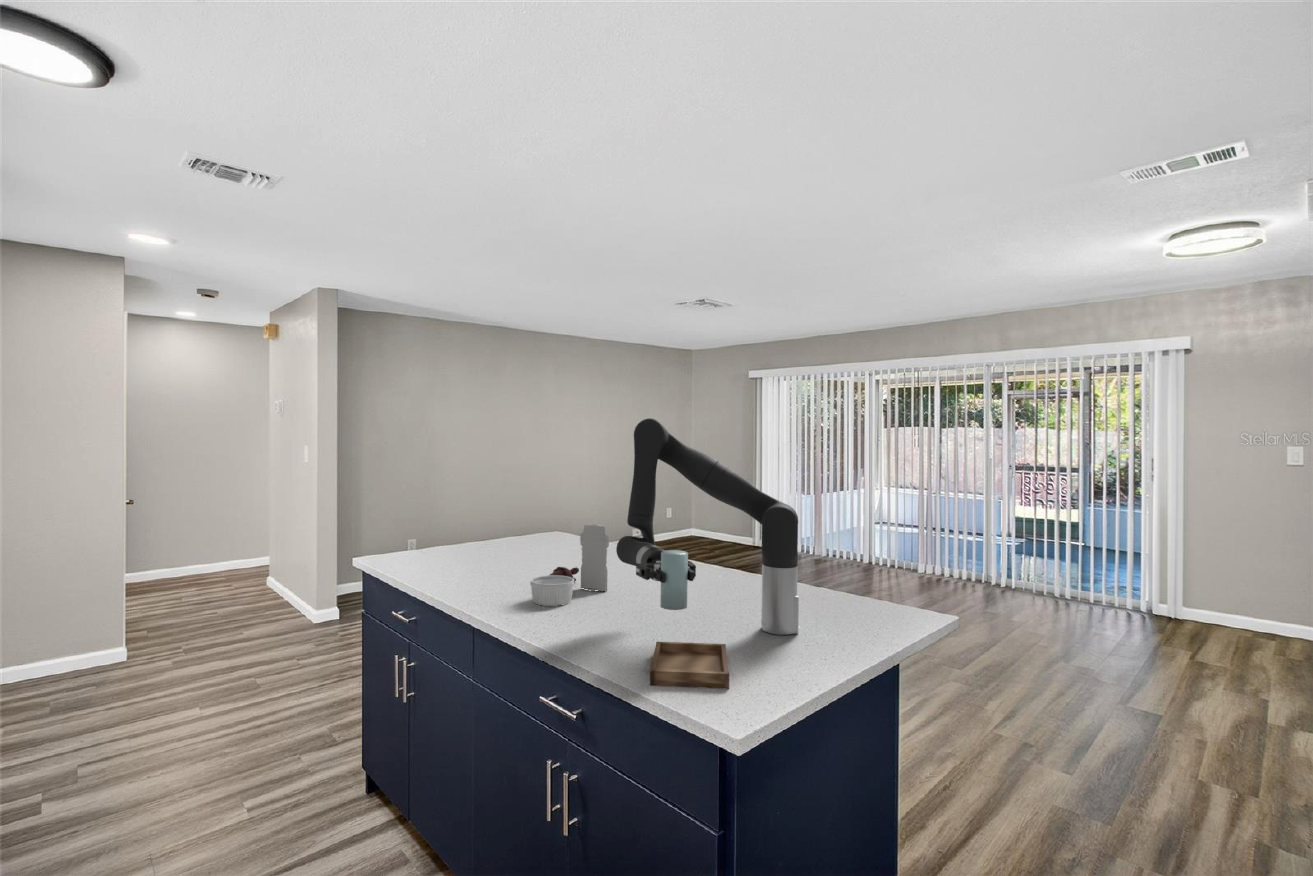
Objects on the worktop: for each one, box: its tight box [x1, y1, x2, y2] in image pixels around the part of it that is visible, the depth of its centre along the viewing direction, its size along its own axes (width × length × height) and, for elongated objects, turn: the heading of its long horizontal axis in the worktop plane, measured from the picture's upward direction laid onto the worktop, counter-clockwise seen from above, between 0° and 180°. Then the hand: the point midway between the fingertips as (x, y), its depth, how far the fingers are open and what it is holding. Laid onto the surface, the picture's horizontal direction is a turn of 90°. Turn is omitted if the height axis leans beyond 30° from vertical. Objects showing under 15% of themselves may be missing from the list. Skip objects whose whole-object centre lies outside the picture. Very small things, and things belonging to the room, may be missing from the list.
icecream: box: [549, 566, 580, 583], centre depth 205 cm, size 7×7×15 cm
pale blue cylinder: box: [659, 549, 689, 611], centre depth 136 cm, size 6×6×12 cm
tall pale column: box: [579, 523, 610, 592], centre depth 201 cm, size 11×4×22 cm, turn 69°
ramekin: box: [529, 574, 575, 607], centre depth 186 cm, size 13×13×7 cm
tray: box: [649, 641, 730, 690], centre depth 132 cm, size 16×18×3 cm
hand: (678, 577), depth 133 cm, fingers closed on pale blue cylinder, 6 cm apart
